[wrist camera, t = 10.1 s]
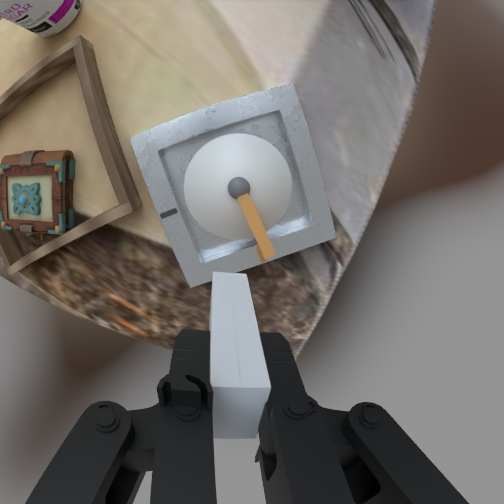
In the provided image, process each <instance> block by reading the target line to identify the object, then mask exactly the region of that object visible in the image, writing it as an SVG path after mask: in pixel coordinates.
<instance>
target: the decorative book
mask: <svg viewBox="0 0 504 504" xmlns="http://www.w3.org/2000/svg"><path fill="white" fill-rule="evenodd" d="M74 176H75V159H74V158H73V153H72V152H71V151H70V150H64V151H47V152H45V151H44V150H40V151H27V152H24V153H23V154H15V155H7V156H5V157H4V158H3V159H2V161H1V165H0V201H1V211H0V221H1V229H7V230H12V229H14V228H15V229H20V231H21V233H27V235H32V234H37V233H40V234H41V240H43V236H42V233H50V234H60V235H63V234H64V233H66V228H69V229H72V228H74V227H75V220H74V208H73V203H72V193H73V179H74ZM47 231H48V232H47Z"/></svg>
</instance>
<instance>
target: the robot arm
mask: <svg viewBox="0 0 504 504" xmlns="http://www.w3.org/2000/svg"><path fill="white" fill-rule="evenodd" d="M157 392H158V398H159V403H157V404H156V405H154V406H152V407H150V408H146V409H139V410H130V411H127V410H126V409H125V408H124V407H122V406H121V405H119V404H117V403H115V402H111V401H100V402H97V403H94V404H92V405H90V406H89V407H88V408H87V409H86V410H85V411H84V412H83V414H82V415H81V417H80V418H79V420H78V421H77V423H76V424H75V426H74V427H73V428H72V430H71V431H70V433H69V435H68V436H67V437H66V439H65V440H64V442H63V444H62V445H61V446H60V448H59V450H58V451H57V453H56V454H55V456H54V457H53V459H52V461H51V462H50V464H49V465H48V467H47V468H46V470H45V471H44V473H43V475H42V476H41V478H40V479H39V481H38V483H37V485H36V486H35V488H34V489H33V491H32V493H31V494H30V496H29V498H28V500H27V501H26V503H25V504H133V501H134V499H135V496H136V494H137V492H138V489H139V487H140V485H141V482H142V480H143V478H144V475H145V473H146V471H153V472H152V483H151V497H150V504H217V499H216V485H215V466H214V444H213V438H223V439H239V438H240V439H241V438H243V439H246V438H256V437H257V434H258V433H259V438H260V445H259V448H258V451H257V453H256V456H255V462H258V461H260V468H261V475H262V481H263V486H264V493H265V499H266V504H469V503H468V502H467V501H466V500H465V499H464V498H463V496H462V495H461V494H460V493H459V492H458V491H457V490H456V489H455V488H454V486H453V485H452V484H451V483H450V482H449V481H448V480H447V479H446V477H445V476H444V475H443V474H442V473H441V472H440V471H439V470H438V468H437V467H436V466H435V465H434V464H433V463H432V462H431V461H430V460H429V459H428V458H427V456H426V455H425V454H424V453H423V452H422V451H421V449H420V448H419V447H418V446H417V445H416V444H415V443H414V442H413V440H412V439H411V438H410V437H409V436H408V435H407V434H406V433H405V431H404V430H403V429H402V428H401V427H400V426H399V425H398V424H397V422H396V421H395V420H394V419H393V418H392V417H391V416H390V415H389V414H388V413H387V411H386V410H385V409H383V408H382V407H381V406H379V405H377V404H375V403H370V402H362V403H358V404H356V405H355V406H354V407H352V408H351V410H350V411H349V412H348V411H339V410H332V409H327V408H323V407H321V406H319V405H318V403H317V402H316V401H315V400H314V399H313V398H311V397H310V396H308V395H307V393H306V391H305V388H304V385H303V382H302V380H301V377H300V374H299V371H298V368H297V365H296V362H295V359H294V356H293V354H292V350H291V348H290V345H289V342H288V341H287V340H286V339H285V337H284V336H283V335H282V334H281V333H265V332H259V330H258V326H257V321H256V316H255V312H254V307H253V302H252V298H251V293H250V288H249V284H248V279H247V274H240V273H226V272H213V277H212V291H211V306H210V323H209V331H203V330H190V329H182V330H181V332H180V333H179V334H178V335H177V336H176V337H175V342H174V348H173V354H172V359H171V365H170V371H169V374H168V375H166V376H165V377H164V378H162V379H161V380H160V382H159V384H158V386H157Z"/></svg>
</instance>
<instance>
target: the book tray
mask: <svg viewBox="0 0 504 504" xmlns="http://www.w3.org/2000/svg"><path fill="white" fill-rule="evenodd" d="M75 61H76V65H77V70H78V74H79V79H80V83H81V87H82V91H83V95H84V99H85V103H86V107H87V110H88V114H89V117H90V121H91V124H92V128H93V131H94V134H95V137H96V140H97V144H98V147H99V150H100V153H101V156H102V158H103V161H104V164H105V167H106V170H107V173H108V175H109V178H110V181H111V183H112V186H113V189H114V191H115V194H116V196H117V199H118V201H119V204H120V205H118V206H116V207H114V208H112V209H109V210H107V211H105V212H103V213H101V214H99V215H97V216H95V217H93V218H91V219H89V220H87V221H85V222H83V223H81V224H80V225H78V226H76V227H74V228H72V229H70V230H68V231H66V233H64V234H63V235H59V236H57V237H56V238H54V239H52V240H50V241H49V242H47V243H45V244H43V245H42V246H40V247H38V248H37V249H35V250H33V251H32V252H30V253H28V254H27V255H25V256H24V255H23V253H22V251H21V248H20V246H19V244H18V241H17V239H16V237H15V234H14V232H13V229H12V230H7V229H1V221H0V255H1V257H2V259H3V262H4V264H5V266H6V268H7V270H8V272H9V274H10V275H12V274H13V273H15V272H17V271H18V270H20V269H22V268H23V267H25V266H27V265H29V264H30V263H32V262H34V261H36V260H37V259H39V258H41V257H43V256H44V255H46V254H48V253H50V252H52V251H54V250H55V249H57V248H59V247H61V246H63V245H65V244H67V243H69V242H71V241H73V240H75V239H76V238H78V237H80V236H82V235H84V234H86V233H88V232H91V231H93V230H95V229H97V228H99V227H101V226H103V225H105V224H107V223H109V222H112V221H114V220H116V219H118V218H120V217H122V216H125V215H127V214H129V213H131V212H134V211H135V210H136V209H137V208H139V207H140V206H141V205H142V202H141V200H140V197H139V194H138V192H137V189H136V187H135V184H134V182H133V179H132V176H131V173H130V171H129V168H128V165H127V163H126V160H125V157H124V154H123V151H122V148H121V145H120V142H119V139H118V136H117V133H116V130H115V127H114V124H113V121H112V118H111V114H110V111H109V108H108V104H107V101H106V97H105V94H104V90H103V86H102V83H101V79H100V75H99V71H98V67H97V63H96V59H95V54H94V50H93V45H92V44H91V43H90V42H89V41H87V40H86V39H85V38H83V37H82V36H80V35H79V36H78V37H76V38H74V39H73V40H71V41H70V42H68V43H67V44H65V45H64V46H62V47H61V48H59V49H58V50H56V51H55V52H53V53H52V54H51V55H49V56H48V57H47V58H45V59H44V60H43V61H41V62H40V63H39V64H37V65H36V66H35V67H34V68H32V69H31V70H30V71H29V72H27V73H26V74H25V75H24V76H23V77H21V78H20V79H19V80H18V81H17V82H16V83H15V84H14V85H12V86H11V87H10V88H9V89H8V90H7V91H6V92H5V93H4V94H3V95H2V96H1V97H0V121H1V120H2V119H3V118H4V117H5V116H6V115H7V114H8V113H9V112H10V111H11V110H12V109H13V108H14V107H16V106H17V105H18V104H19V103H20V102H21V101H22V100H24V99H25V98H26V97H27V96H28V95H29V94H31V93H32V92H33V91H34V90H36V89H37V88H38V87H40V86H41V85H42V84H43V83H45V82H46V81H47V80H49V79H50V78H52V77H53V76H54V75H56V74H57V73H59V72H60V71H61V70H63V69H64V68H66V67H67V66H69V65H71V64H72V63H74V62H75ZM0 211H1V201H0Z"/></svg>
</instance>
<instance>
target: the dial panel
mask: <svg viewBox="0 0 504 504" xmlns="http://www.w3.org/2000/svg"><path fill="white" fill-rule="evenodd" d="M236 133H241V134H249V135H254V136H257V137H260V138H262V139H264V140H266V141H267V142H269V143H270V144H272V145H273V146H274V147H275V148H276V149H277V150H278V151H279V152H280V153H281V154H282V156H283V157H284V159H285V160H286V162H287V164H288V167H289V170H290V173H291V178H292V194H291V199H290V202H289V205H288V207H287V209H286V211H285V213H284V215H283V216H282V218H281V219H280V220H279V221H278V222H277V223H276V224H275V225H274V226H273V227H272V228H271V229H269V230H268V231H266V232H267V235H268V237H269V239H270V242H271V244H272V246H273V248H274V251H275V253H276V255H274V256H272V257H270V258H268V259H265V258H264V256H263V254H262V252H261V249H260V247H259V245H258V243H257V241H256V239H255V237H252V238H248V239H241V240H233V239H226V238H222V237H219V236H216V235H214V234H212V233H210V232H208V231H207V230H205V229H204V228H203V227H202V226H201V225H200V224H199V223H197V221H196V220H195V219H194V218H193V216H192V214H191V213H190V211H189V209H188V207H187V204H186V200H185V196H184V179H185V174H186V171H187V168H188V166H189V163H190V162H191V160H192V158H193V157H194V155H195V154H196V153H197V152H198V151H199V150H200V149H201V148H202V147H203V146H204V145H206V144H207V143H208V142H210V141H212V140H214V139H215V138H218V137H221V136H224V135H228V134H236ZM130 142H131V144H132V147H133V150H134V153H135V156H136V159H137V161H138V164H139V167H140V170H141V172H142V175H143V178H144V180H145V183H146V186H147V188H148V191H149V193H150V196H151V199H152V201H153V204H154V206H155V209H156V211H157V214H158V216H159V218H160V221H161V223H162V226H163V228H164V230H165V233H166V235H167V237H168V240H169V242H170V244H171V247H172V249H173V251H174V253H175V256H176V258H177V260H178V262H179V264H180V267H181V269H182V271H183V273H184V275H185V278H186V280H187V282H188V284H189V286H190V288H192V287H195V286H198V285H201V284H204V283H207V282H210V281H212V277H213V272H226V273H236V272H239V271H242V270H245V269H248V268H251V267H254V266H257V265H260V264H263V263H265V262H268V261H271V260H274V259H277V258H280V257H283V256H286V255H288V254H291V253H294V252H297V251H300V250H303V249H306V248H308V247H311V246H314V245H317V244H320V243H323V242H325V241H328V240H331V239H334V238H336V234H335V229H334V225H333V220H332V216H331V211H330V207H329V203H328V198H327V194H326V190H325V186H324V182H323V178H322V174H321V171H320V167H319V163H318V160H317V156H316V152H315V149H314V145H313V142H312V139H311V135H310V132H309V129H308V125H307V122H306V119H305V116H304V113H303V110H302V107H301V104H300V101H299V98H298V95H297V92H296V89H295V86H294V85H293V84H289V85H284V86H280V87H275V88H271V89H267V90H263V91H259V92H255V93H251V94H247V95H244V96H240V97H237V98H233V99H230V100H227V101H224V102H220V103H217V104H214V105H211V106H208V107H205V108H202V109H200V110H197V111H194V112H191V113H189V114H186V115H183V116H181V117H178V118H175V119H173V120H170V121H168V122H166V123H163V124H161V125H158V126H156V127H154V128H151V129H149V130H147V131H145V132H142V133H140V134H138V135H136V136H134V137H132V138H130Z"/></svg>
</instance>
